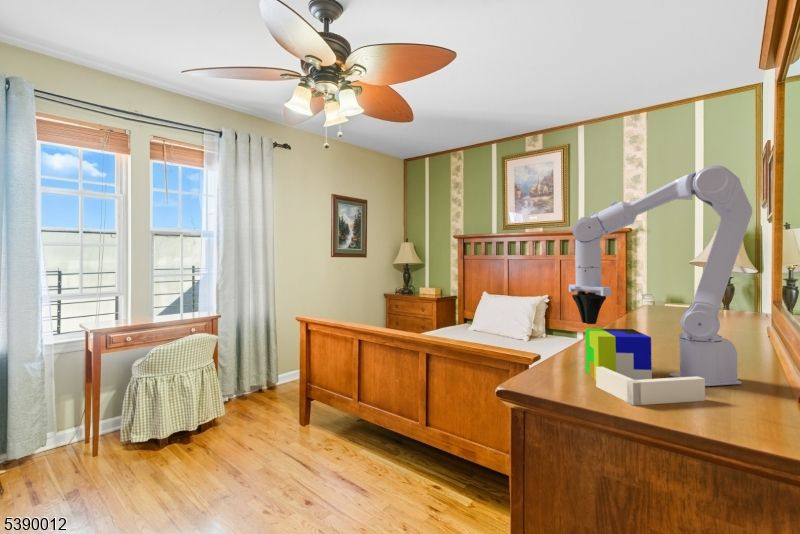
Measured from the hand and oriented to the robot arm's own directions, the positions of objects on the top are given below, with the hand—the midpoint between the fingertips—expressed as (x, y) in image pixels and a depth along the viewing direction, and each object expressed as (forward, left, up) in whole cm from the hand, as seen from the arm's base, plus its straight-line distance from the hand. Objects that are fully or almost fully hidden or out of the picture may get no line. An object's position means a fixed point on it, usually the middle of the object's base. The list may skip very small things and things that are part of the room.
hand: (589, 323), depth 96 cm
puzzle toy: (0, +10, -11) cm, 15 cm away
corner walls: (+1, +20, -10) cm, 23 cm away
